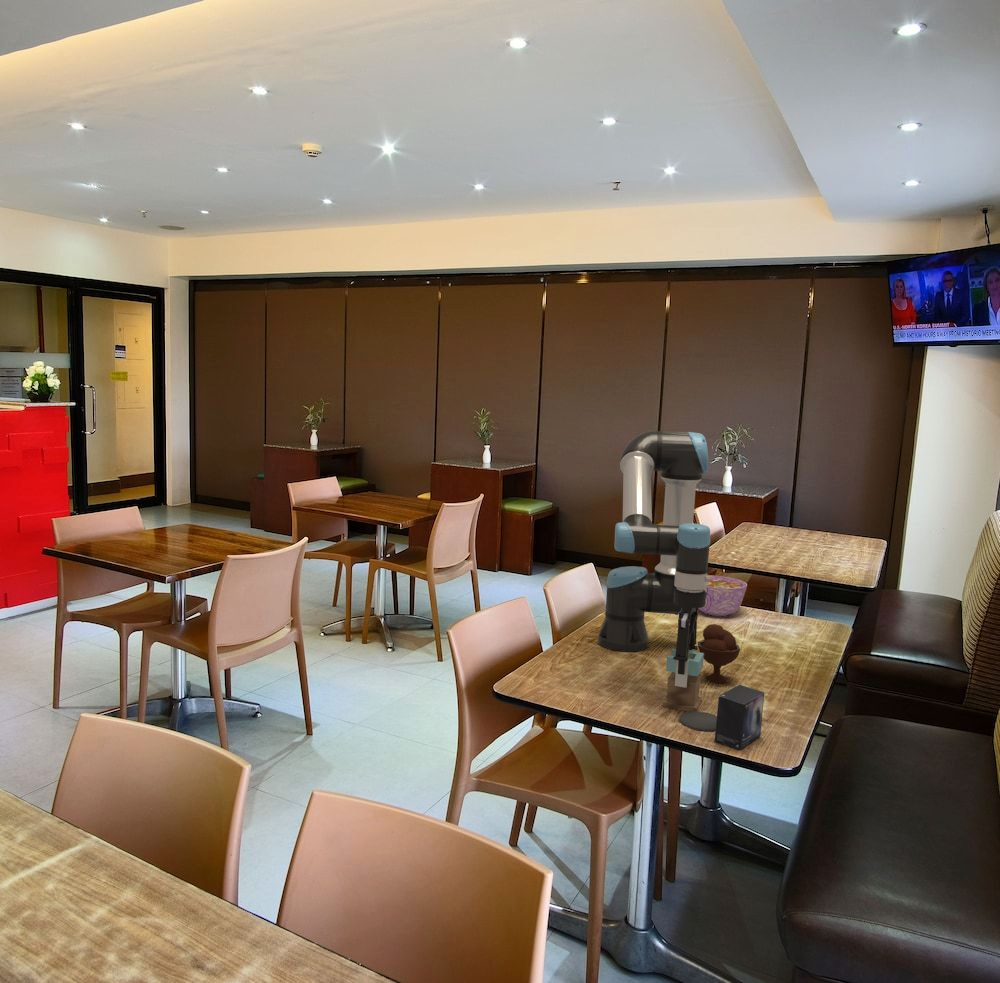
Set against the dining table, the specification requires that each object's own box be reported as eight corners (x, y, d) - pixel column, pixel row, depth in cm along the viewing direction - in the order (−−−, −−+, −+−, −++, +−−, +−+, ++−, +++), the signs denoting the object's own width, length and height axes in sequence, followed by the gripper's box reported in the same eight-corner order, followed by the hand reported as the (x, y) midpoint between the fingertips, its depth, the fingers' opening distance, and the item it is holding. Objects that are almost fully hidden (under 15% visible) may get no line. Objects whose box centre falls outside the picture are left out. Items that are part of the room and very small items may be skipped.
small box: (741, 751, 166) (745, 703, 165) (713, 741, 171) (716, 695, 170) (762, 737, 174) (766, 691, 173) (734, 728, 179) (738, 683, 177)
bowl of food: (688, 618, 269) (690, 585, 268) (684, 604, 289) (686, 573, 288) (748, 623, 266) (751, 590, 265) (740, 608, 286) (743, 577, 284)
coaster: (675, 725, 178) (675, 723, 178) (683, 710, 187) (683, 708, 187) (720, 734, 174) (721, 732, 174) (726, 718, 184) (726, 716, 184)
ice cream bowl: (715, 689, 202) (719, 633, 201) (686, 675, 212) (690, 621, 210) (746, 684, 207) (750, 628, 206) (716, 670, 217) (720, 617, 215)
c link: (666, 671, 189) (667, 656, 188) (672, 661, 195) (673, 648, 195) (697, 676, 186) (698, 662, 185) (702, 667, 193) (703, 653, 192)
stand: (662, 706, 189) (665, 656, 188) (669, 695, 197) (672, 647, 195) (696, 713, 186) (699, 662, 185) (701, 701, 194) (705, 652, 192)
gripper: (699, 600, 177) (692, 697, 180) (712, 582, 196) (706, 670, 199) (666, 595, 180) (659, 691, 183) (682, 578, 199) (676, 665, 202)
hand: (683, 680), depth 191 cm, fingers closed on c link, 7 cm apart
